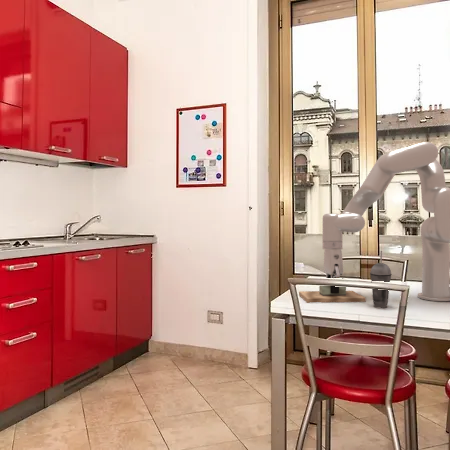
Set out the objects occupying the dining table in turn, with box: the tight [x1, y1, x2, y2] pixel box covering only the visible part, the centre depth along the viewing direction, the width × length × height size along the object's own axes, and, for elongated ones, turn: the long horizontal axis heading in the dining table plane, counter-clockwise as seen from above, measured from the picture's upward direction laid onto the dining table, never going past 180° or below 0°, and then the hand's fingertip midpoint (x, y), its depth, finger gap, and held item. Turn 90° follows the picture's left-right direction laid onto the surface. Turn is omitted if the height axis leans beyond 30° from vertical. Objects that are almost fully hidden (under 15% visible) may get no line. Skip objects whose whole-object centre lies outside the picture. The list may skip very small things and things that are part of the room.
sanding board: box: [298, 290, 366, 304], centre depth 164 cm, size 22×14×2 cm, turn 92°
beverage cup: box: [369, 250, 392, 309], centre depth 149 cm, size 7×7×20 cm
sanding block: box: [318, 277, 347, 296], centre depth 164 cm, size 9×5×6 cm, turn 92°
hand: (332, 291), depth 164 cm, fingers closed on sanding block, 5 cm apart
